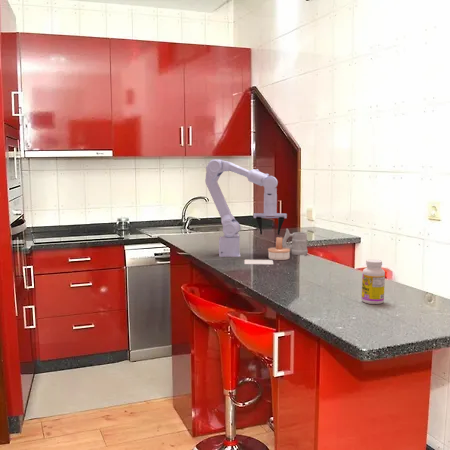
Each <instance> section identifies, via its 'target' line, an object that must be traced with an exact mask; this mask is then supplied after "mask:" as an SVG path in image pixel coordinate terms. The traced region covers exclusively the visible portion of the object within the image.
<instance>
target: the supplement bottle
mask: <svg viewBox="0 0 450 450" xmlns="http://www.w3.org/2000/svg"><path fill="white" fill-rule="evenodd" d="M365 265H366V267H365V268H363V270H362V279H361V301H362V302H363V303H365V304H370V305H380V304H383V303H384V301H385V283H386V282H385V281H386V280H385V279H386V271H385V270H384V269H383V268H382V266H383V261H382V260H379V259H366V261H365Z"/></svg>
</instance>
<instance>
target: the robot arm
mask: <svg viewBox="0 0 450 450" xmlns="http://www.w3.org/2000/svg"><path fill="white" fill-rule="evenodd" d="M205 171H206V173H205V185H206V187H207V189H208V191H209V195H210V196H211V198H212V200H213V203H214V206H215V207H216V210H217V211H218V214H219V217H220V220H221V224H222V232H223V236H219V237H218V238H219V239H218V257H224V258H225V257H226V258H227V257H229V258H231V257H232V258H235V257H239V258H240V257H241V253H240V252H241V251H240V244H241V240H240V239H241V238H240V236H241V235H240V234H239V232H240V231H241V225H240V224H241V223H239V222H238V221H237V220H236V218H235V216H234V215H233V213H232V212H231V210H230V207H229V205H228V203H227V200H226V199H225V197H224V194H223V192H222V190H221V186H220V185H219V183H218V181H219V179H220V177H221V175H222V174H223V173H224V172H231V173H235V174H237V175H240V176H243V177H246V179H247V180H248V182H249V183H253V184H255V185H256V186H259V187H263V188H264V190H263V192H264V193H263V212H259V213H257V212H256V213H255V212H254V213H253V219H255V221H256V222H257V225H258V229H259V235H263V229H262V228H263V225H262V224H263V220H262V219H277V235H280V234H281V229H282V226H283V223H284V222H285V219H288V218H287V217H288V214H287V213H279V212H277V211H278V210H277V207H278V205H277V204H278V194H277V193H278V192H277V191H278V188H277V187H278V183H279V181H278V179H277V178H276V177H275V176H274V175H270V174H269V173H264V172H262V171H260V169H258V168H256V169H254V168H253V169H250V170H249V169H247V168H245V167H243V166H240V165H238V164H236V163H234V162H231V161H227V160H223V159H219V158H217V159H215V158H214V159H211V160H210V161H208V163H207V165H206V168H205Z"/></svg>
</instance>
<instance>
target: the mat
mask: <svg viewBox="0 0 450 450" xmlns="http://www.w3.org/2000/svg"><path fill="white" fill-rule="evenodd" d="M244 265H274V261H273V259H244Z"/></svg>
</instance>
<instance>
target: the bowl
mask: <svg viewBox="0 0 450 450" xmlns="http://www.w3.org/2000/svg"><path fill="white" fill-rule="evenodd" d="M290 253H291V251H290V252H288V253H272V252H268V260H274V261H285V260H286V261H287V260H289V259H290Z"/></svg>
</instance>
